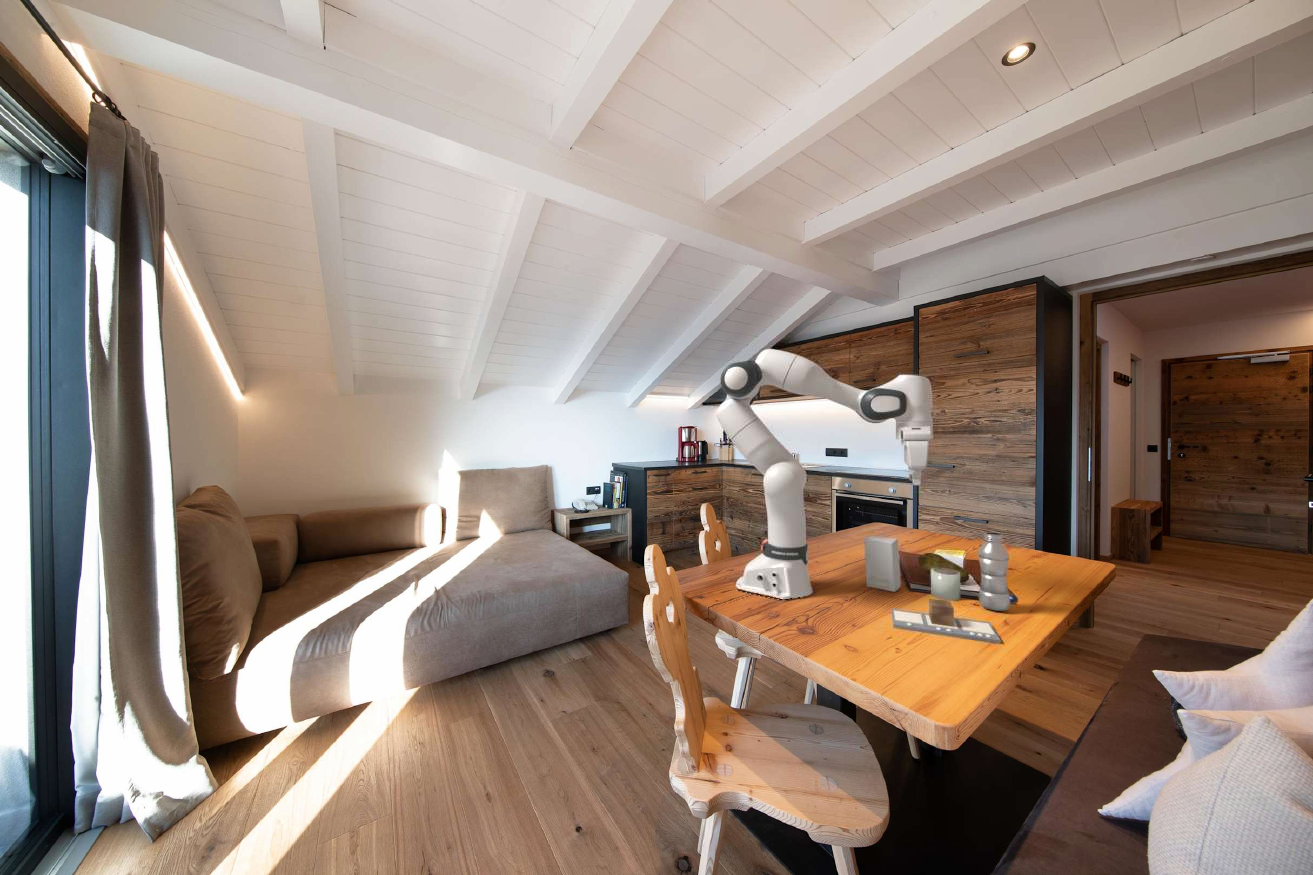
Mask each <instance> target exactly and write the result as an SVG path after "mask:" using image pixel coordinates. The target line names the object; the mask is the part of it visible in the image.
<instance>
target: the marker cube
mask: <svg viewBox="0 0 1313 875" xmlns="http://www.w3.org/2000/svg"><path fill="white" fill-rule="evenodd" d="M954 610H955V609H954V606H953V604H952V602H951V600H944V599H937V598H929V599H928V612H929V613H928V614H929V617H930V620H931V623H932V624H937V625H944V626H950V627H954V617H955V616H954V615H955V612H954Z"/></svg>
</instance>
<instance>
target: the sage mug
mask: <svg viewBox="0 0 1313 875" xmlns="http://www.w3.org/2000/svg"><path fill="white" fill-rule="evenodd" d="M930 594H931V596H933V597H934V598H935V599H939V600H944V601H959V600H961V583H960V572H958V571H956V570H952V569H948V568H932V569H931V575H930Z"/></svg>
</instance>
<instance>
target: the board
mask: <svg viewBox="0 0 1313 875" xmlns="http://www.w3.org/2000/svg"><path fill="white" fill-rule="evenodd" d="M891 618H892V625H893V628H895V629H900V630H902V629H903V630H908V631H914V632H919V633H920V632H921V633H927V634H933V635H940V636H946V637H952V638H953V637H954V638H960V639H967V640H972V641H979V642H986V643H992V642H993V643H994V644H997V643H998V645H999V644H1000V645H1001V644H1002V640H1001V638H1000V637H999V635H998V634H997V632H996V631H995V629H994V627H993V626H992V624H991V623H990V622H989V621H984V620H983V621H982V620H976V619H969V618H961V617H955V616H954V627H950V626H944V625H937V624H932V623H931V620H930V617H929V613H925V612H917V611H911V610H903V609H897V608H891ZM993 643H992V644H993Z"/></svg>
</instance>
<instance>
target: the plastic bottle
mask: <svg viewBox="0 0 1313 875" xmlns="http://www.w3.org/2000/svg"><path fill="white" fill-rule="evenodd" d="M983 540H984V543H982V545H981V546H980V547H979V548H978V550H977V555H978V561H979V565H980V575H981V576H980V578H981V579H980V588H979V591H978V592H979V593H978V600H979V603H980V604H981V606H982V607H983V608H984V609H985V608H986V609H988V610H991V611H999V612H1005V611H1008V610H1009V609H1010V607H1011V606H1010V605H1011V597H1010V593H1009V588H1008V583H1007V582H1008V579H1007V578H1008V567H1009V561H1010V560H1009V559H1010V553H1009V551H1008V550H1007V548H1006V547H1005V546H1004V545H1003V541H1004V540H1003V533H1000V532H995V531H994V532H993V531H991V532H989V531H988V532H987V531H986V532H984V539H983Z"/></svg>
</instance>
